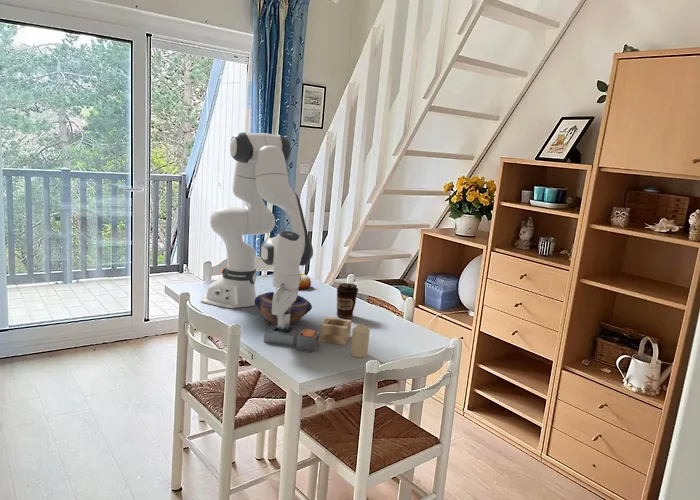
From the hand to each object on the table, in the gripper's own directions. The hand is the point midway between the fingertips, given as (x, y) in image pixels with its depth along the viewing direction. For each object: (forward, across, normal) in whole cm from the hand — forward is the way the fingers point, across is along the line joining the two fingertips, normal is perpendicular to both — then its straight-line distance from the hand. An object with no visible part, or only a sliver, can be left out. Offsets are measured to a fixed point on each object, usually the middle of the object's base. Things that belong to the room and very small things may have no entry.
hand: (283, 320), depth 180 cm
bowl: (+7, +17, +5) cm, 19 cm away
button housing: (+7, -5, -10) cm, 13 cm away
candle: (+7, -4, -27) cm, 28 cm away
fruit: (+7, +67, +11) cm, 68 cm away
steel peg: (+7, 0, 0) cm, 7 cm away
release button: (+5, -5, -10) cm, 12 cm away
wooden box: (+7, +7, -17) cm, 20 cm away
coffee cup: (+7, +33, -17) cm, 37 cm away
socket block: (+7, 0, 0) cm, 7 cm away
